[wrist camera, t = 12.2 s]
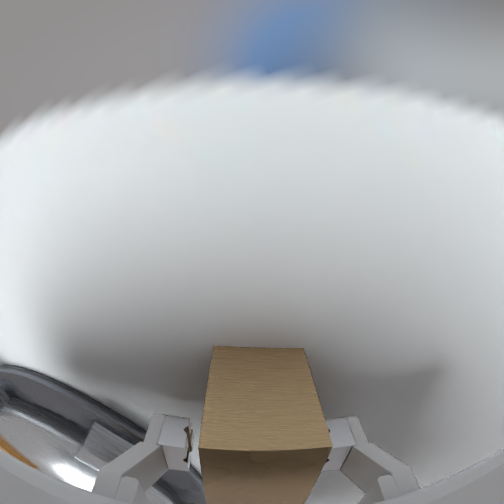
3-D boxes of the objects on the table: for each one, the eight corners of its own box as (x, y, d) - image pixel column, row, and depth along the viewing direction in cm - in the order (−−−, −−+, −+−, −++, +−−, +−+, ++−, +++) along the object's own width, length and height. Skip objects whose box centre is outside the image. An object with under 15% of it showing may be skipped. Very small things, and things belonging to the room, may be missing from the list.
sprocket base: (213, 527, 17) (212, 535, 16) (39, 480, 16) (36, 486, 15) (197, 405, 12) (195, 421, 11) (-48, 335, 11) (-56, 341, 10)
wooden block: (284, 437, 13) (295, 518, 8) (215, 436, 12) (209, 518, 8) (303, 347, 11) (332, 446, 6) (213, 344, 11) (198, 448, 6)
